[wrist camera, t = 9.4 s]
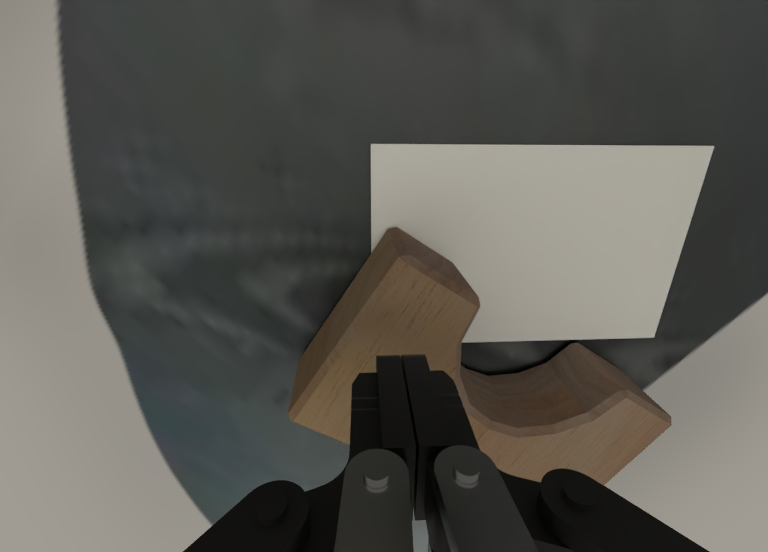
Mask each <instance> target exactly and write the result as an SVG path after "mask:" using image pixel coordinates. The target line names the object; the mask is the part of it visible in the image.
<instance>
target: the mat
mask: <svg viewBox="0 0 768 552" xmlns="http://www.w3.org/2000/svg"><path fill="white" fill-rule="evenodd" d="M713 149H714V146H657V145H489V144H371V253H372V252H373V250H374V249H375V247H376V246H377V244H378V243H379V241H380V240H381V238H382V237H383V235H384V234H385V232H386V231H387V229H389V228H394V227H398V228H399V229H401V230H402V231H404V232H406V233H407V234H409V235H410V236H412V237H413V238H415V239H417V240H418V241H420V242H421V243H423V244H424V245H426V246H428V247H429V248H431V249H432V250H434V251H435V252H437V253H439V254H440V255H442V256H443V257H445V258H446V259H448V260H450V261H451V262H453V264H454V265H455V266H456V268H457V269H458V270H459V272H460V273H461V274H462V276H463V277H464V278H465V280H466V281H467V282H468V284H469V285H470V286H471V288H472V289H473V290H474V292H475V293H476V294H477V296H478V297H479V301H480V308H479V310H478V312H477V314H476V316H475V318H474V320H473V322H472V323H471V325H470V327H469V329H468V331H467V333H466V335H465V336H464V338H463V340H462V343H468V342H506V341H545V340H583V339H622V338H654V336H655V333H656V330H657V326H658V323H659V320H660V317H661V314H662V311H663V307H664V304H665V301H666V298H667V295H668V292H669V288H670V285H671V282H672V279H673V276H674V273H675V269H676V266H677V263H678V260H679V257H680V254H681V250H682V247H683V244H684V241H685V238H686V235H687V231H688V228H689V225H690V222H691V219H692V216H693V212H694V209H695V206H696V203H697V200H698V197H699V193H700V190H701V187H702V184H703V181H704V178H705V174H706V171H707V168H708V165H709V162H710V159H711V155H712V152H713Z"/></svg>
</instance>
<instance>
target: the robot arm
mask: <svg viewBox="0 0 768 552" xmlns="http://www.w3.org/2000/svg"><path fill="white" fill-rule="evenodd" d="M413 509H414V516H415V520H426V523H427V529H428V535H429V539H428V552H709V551H707V550H706V549H704V548H702V547H701V546H699V545H698V544H696V543H695V542H693V541H691V540H690V539H688V538H687V537H685V536H683V535H682V534H680V533H679V532H677V531H675V530H674V529H672V528H670V527H669V526H667V525H666V524H664V523H663V522H661V521H659V520H658V519H656V518H655V517H653V516H651V515H650V514H648V513H646V512H645V511H643V510H642V509H640V508H639V507H637V506H635V505H634V504H632V503H630V502H629V501H627V500H626V499H624V498H623V497H621V496H619V495H618V494H616V493H615V492H613V491H611V490H610V489H608V488H607V487H605V486H603V485H602V484H600V483H599V482H597V481H595V480H594V479H592V478H591V477H589V476H587V475H585V474H583V473H581V472H578V471H575V470H571V469H563V468H560V469H554V470H551V471H549V472H547V473H546V474H545V475H544V476H543V478H542V480H541V482H537V481H533V480H529V479H525V478H520V477H516V476H513V475H510V474H507V473H505V472H503V471H501V470H499V469H498V468H497V467H496V465H495V463H494V462H493V461H492V460H491V458H490V457H489V456H487V455H486V454H485V453H483V452H482V451H481V450H480V448H479V446H478V443H477V440H476V438H475V435H474V432H473V430H472V427H471V424H470V422H469V419H468V416H467V414H466V411H465V408H464V407H463V403H462V401H461V398H460V396H459V393H458V390H457V387H456V385H455V382H454V380H453V379H452V378H451V377H450V376H449V375H448V374H447V373H446V372H444V371H443V370H434V371H430V368H429V365H428V362H427V358H426V355H425V354H410V355H401V358H400V355H377V356H376V372H372V373H359V374H358V376H357V377H356V379H355V380H354V382H353V383H352V396H351V426H350V454H349V460H348V463H347V465H346V467H345V468H344V470H343V471H342V473H341V474H340V475H339V476H338V477H336V478H335V479H334V480H332V481H331V482H329V483H327V484H325V485H323V486H320V487H317V488H315V489H312V490H309V491H306V492H304V490H303V489H302V488H301V487H300V486H299V485H297V484H295V483H293V482H290V481H285V480H278V481H272V482H268V483H265V484H263V485H261V486H259V487H257V488H256V489H254V490H253V491H252V492H250V493H249V494H248V495H247V496H246V497H245V498H243V499H242V500H241V501H240V502H239V503H238V504H237V505H235V506H234V507H233V508H232V509H231V510H230V511H229V512H228V513H226V514H225V515H224V516H223V517H222V518H221V519H220V520H219V521H217V522H216V523H215V524H214V525H213V526H212V527H211V528H210V529H208V530H207V531H206V532H205V533H204V534H203V535H202V536H200V537H199V538H198V539H197V540H196V541H195V542H194V543H193V544H191V545H190V546H189V547H188V548H187V549H186V550H185V551H183V552H413V535H412V519H413Z"/></svg>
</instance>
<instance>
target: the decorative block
mask: <svg viewBox="0 0 768 552" xmlns="http://www.w3.org/2000/svg"><path fill="white" fill-rule="evenodd" d="M479 308H480V301H479V297H478V296H477V294H476V293H475V292H474V290H473V289H472V288H471V286H470V285H469V284H468V282H467V281H466V280H465V278H464V277H463V276H462V274H461V273H460V272H459V270H458V269H457V268H456V266H455V265H454V264H453V262H451V261H450V260H448V259H446V258H445V257H443V256H442V255H440V254H439V253H437V252H435V251H434V250H432V249H431V248H429V247H428V246H426V245H424V244H423V243H421V242H420V241H418V240H417V239H415V238H413V237H412V236H410V235H409V234H407V233H406V232H404V231H402V230H401V229H399V228H398V227H394V228H389V229H387V231H386V232H385V234H384V235H383V237H382V238H381V240H380V241H379V243H378V244H377V246H376V247H375V249H374V250H373V252H372V253H371V255H370V256H369V258H368V259H367V261H366V262H365V263H364V265H363V266H362V268H361V269H360V271H359V272H358V274H357V275H356V277H355V278H354V280H353V281H352V283H351V284H350V286H349V287H348V289H347V290H346V292H345V293H344V295H343V296H342V298H341V299H340V300H339V302H338V303H337V305H336V306H335V308H334V309H333V311H332V312H331V314H330V315H329V317H328V318H327V320H326V321H325V323H324V324H323V325H322V327H321V328H320V330H319V331H318V333H317V334H316V336H315V337H314V339H313V340H312V342H311V343H310V345H309V346H308V348H307V349H306V351H305V352H304V353H303V355H302V356H301V358H300V359H299V363H298V368H297V373H296V378H295V383H294V387H293V392H292V397H291V402H290V407H289V411H288V415H289V417H290V420H291V421H293V422H295V423H298V424H300V425H302V426H305V427H307V428H310V429H312V430H315V431H317V432H319V433H322V434H324V435H327V436H329V437H331V438H334V439H336V440H339V441H341V442H344V443H346V444H348V445H350V426H351V396H352V383H353V382H354V380H355V379H356V377H357V376H358V374H359V373H372V372H376V356H377V355H400V358H401V355H410V354H425V355H426V358H427V362H428V365H429V368H430V371H434V370H443V371H444V372H446V373H447V374H448V375H449V376H450V377H451V378H452V379H453V380H454V382H455V385H456V387H457V390H458V393H459V396H460V398H461V401H462V403H463V407H464V408H465V411H466V414H467V416H468V419H469V422H470V424H471V427H472V430H473V432H474V435H475V438H476V440H477V443H478V446H479V448H480V450H481V451H482V452H483V453H485V454H486V455H487V456H489V457H490V458H491V460H492V461H493V462H494V463H495V465H496V467H497V468H498V469H499V470H501V471H503V472H505V473H507V474H510V475H513V476H516V477H520V478H525V479H529V480H533V481H537V482H541V480H542V478H543V476H544V475H545V474H546V473H547V472H549V471H551V470H554V469H560V468H563V469H571V470H575V471H578V472H581V473H583V474H585V475H587V476H589V477H591V478H592V479H594V480H595V481H597V482H599V483H600V484H602V485H604V484H606V483H607V482H608V481H609V480H610V479H611V478H612V477H614V476H615V475H616V474H617V473H618V472H619V471H620V470H621V469H623V468H624V467H625V466H626V465H627V464H628V463H629V462H630V461H632V460H633V459H634V458H635V457H636V456H637V455H638V454H639V453H640V452H642V451H643V450H644V449H645V448H646V447H647V446H648V445H650V444H651V443H652V442H653V441H654V440H655V439H656V438H657V437H658V436H660V435H661V434H662V433H663V432H664V431H665V430H666V429H667V428H669V427H670V426H671V416H670V415H669V414H668V413H667V412H665V411H664V410H663V409H662V408H661V407H660V406H659V405H658V404H657V403H655V402H654V401H653V400H652V399H651V398H650V397H649V396H648V395H647V394H646V393H645V392H643V391H642V390H641V389H640V388H639V387H638V386H637V385H636V384H635V383H634V382H632V381H631V380H630V379H629V378H628V377H627V376H626V375H625V374H624V373H623V372H621V371H620V370H619V369H618V368H617V367H615V366H614V365H612V364H611V363H609V362H608V361H606V360H604V359H603V358H601V357H600V356H598V355H597V354H595V353H594V352H592V351H590V350H589V349H587V348H586V347H584V346H583V345H581V344H579V343H571V344H570V345H568V346H567V347H566V348H565V349H563V350H562V351H561V352H559V353H558V354H557V355H556V356H554V357H553V358H552V359H550V360H549V361H548V362H547V363H544V364H542V365H539V366H536V367H533V368H530V369H528V370H525V371H522V372H519V373H513V374H502V375H492V376H487V375H484V374H481V373H478V372H475V371H472V370H469V369H466V368H465V367H463V366H462V365H461V347H462V340H463V338H464V336H465V335H466V333H467V331H468V329H469V327H470V325H471V323H472V322H473V320H474V318H475V316H476V314H477V312H478V310H479Z"/></svg>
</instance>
